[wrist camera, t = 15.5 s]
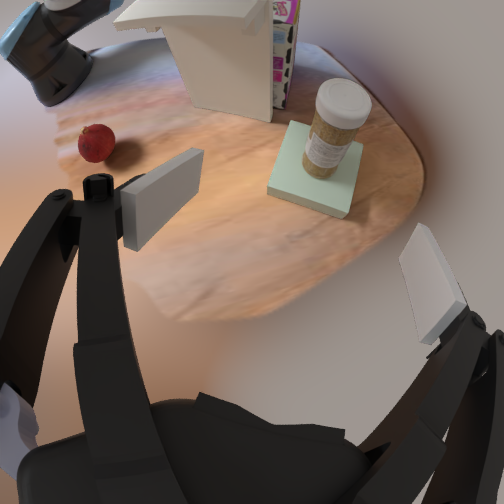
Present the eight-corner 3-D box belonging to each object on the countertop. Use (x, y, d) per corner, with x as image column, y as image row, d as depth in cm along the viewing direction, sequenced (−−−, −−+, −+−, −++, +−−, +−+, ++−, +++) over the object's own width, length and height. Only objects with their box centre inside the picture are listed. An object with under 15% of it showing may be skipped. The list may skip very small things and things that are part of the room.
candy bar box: (287, 111, 36) (294, 24, 19) (253, 106, 36) (245, 20, 20) (295, 63, 37) (303, -14, 21) (266, 59, 37) (263, -18, 21)
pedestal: (267, 194, 34) (267, 185, 31) (289, 131, 35) (290, 119, 32) (341, 219, 33) (348, 213, 30) (357, 154, 34) (363, 144, 31)
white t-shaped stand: (178, 136, 36) (112, 22, 14) (197, 101, 37) (153, -14, 15) (257, 154, 35) (244, 17, 13) (272, 116, 36) (272, -16, 14)
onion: (115, 171, 36) (86, 149, 28) (89, 168, 37) (60, 148, 29) (128, 138, 37) (104, 111, 29) (102, 137, 37) (77, 113, 29)
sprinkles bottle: (314, 141, 32) (336, 68, 18) (344, 162, 31) (381, 98, 18) (293, 164, 31) (307, 94, 18) (323, 188, 31) (356, 127, 18)
